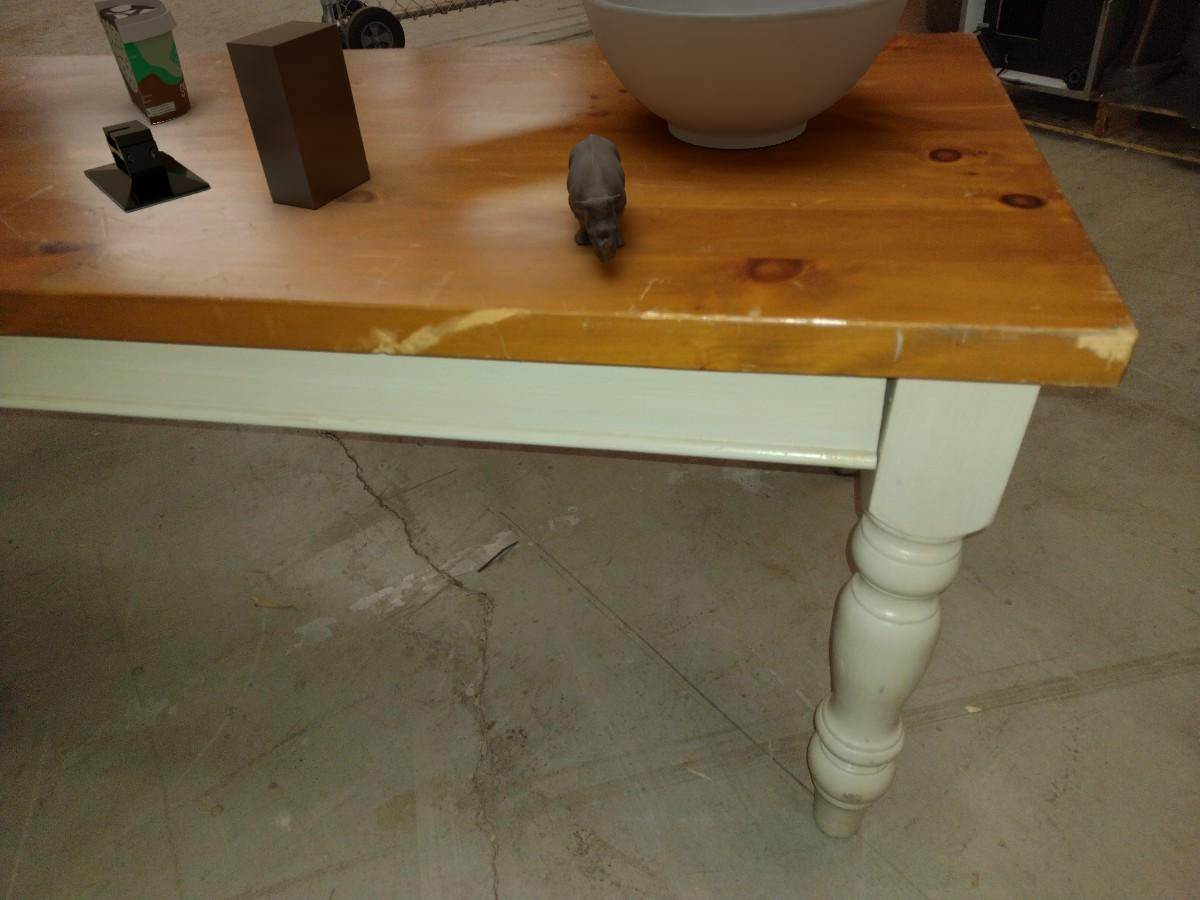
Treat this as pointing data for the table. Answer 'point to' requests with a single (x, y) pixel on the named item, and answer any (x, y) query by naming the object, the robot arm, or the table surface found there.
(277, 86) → the walnut block
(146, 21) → the food container
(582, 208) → the rhino figurine
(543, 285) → the table surface
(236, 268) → the table surface
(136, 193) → the build plate
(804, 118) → the decorative bowl
